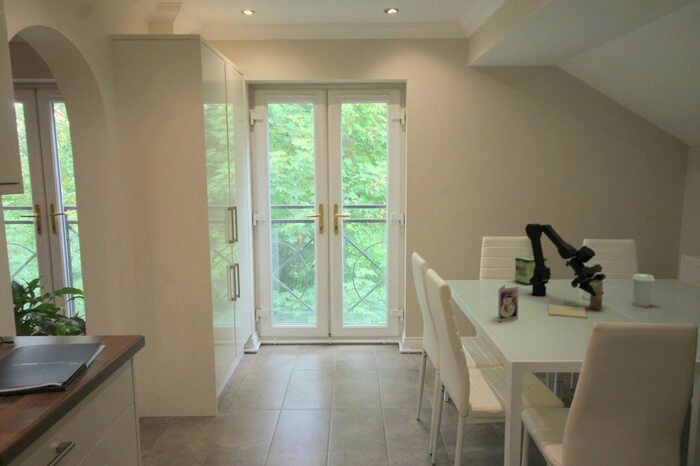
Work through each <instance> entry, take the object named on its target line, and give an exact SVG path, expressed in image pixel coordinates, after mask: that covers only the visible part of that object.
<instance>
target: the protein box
mask: <svg viewBox="0 0 700 466" xmlns="http://www.w3.org/2000/svg"><path fill="white" fill-rule="evenodd" d="M547 259H548V258H547V257H544V263H545V266H546V267H547ZM514 260H515V264H514V265H515V266H514V267H515V269H514V272H515V273H514V283H515V282H517V284H519V283H520V285H523V284H524V285H523V286H526V285H527V286H533V284H530V281H529V280H530V279H531V278H532V277H533V271H534V268H535V262H534V256H533V255H531V256H530V255H529V256H523V257H515V259H514Z"/></svg>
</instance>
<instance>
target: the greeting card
mask: <svg viewBox="0 0 700 466" xmlns="http://www.w3.org/2000/svg"><path fill="white" fill-rule="evenodd" d="M519 290H520V289H519V286H514V287H508V288H506V284H504V285H502V286H501V287H500V288H499V289H498V307H497V309H498V310H497V311H498V313H497V322H498V323H500V322H499V321H503V322H507V321H506V320H509V321H514V320H513V319H515V320H519V294H520V293H519Z"/></svg>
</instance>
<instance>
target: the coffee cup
mask: <svg viewBox="0 0 700 466" xmlns="http://www.w3.org/2000/svg"><path fill="white" fill-rule="evenodd" d="M631 279H632V281H633V297H634V299H633V301H634V305H635V306H638V307H645V308H648V307H650V306H651V302H652V296H653V295H652V294H653V288H654V282H655V281H656V279H655V277H654V275H653V274H648V273H636V274H634V275H633V276H632V278H631Z"/></svg>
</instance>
